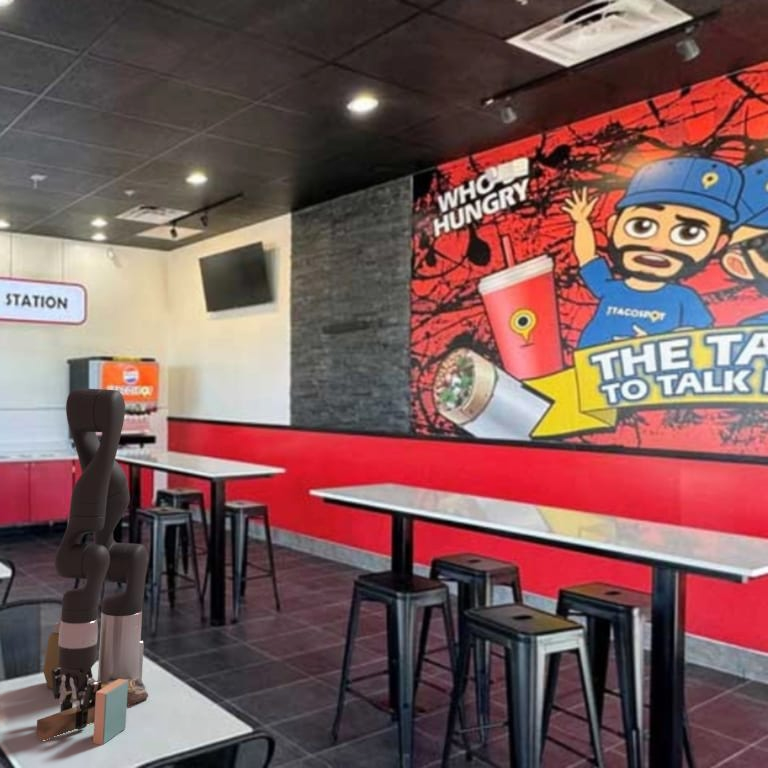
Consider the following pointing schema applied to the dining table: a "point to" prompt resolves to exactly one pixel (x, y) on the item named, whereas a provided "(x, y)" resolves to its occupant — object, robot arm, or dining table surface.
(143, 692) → the ceramic tile fragment
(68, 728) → the wooden bar with blade
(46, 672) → the squeeze bottle
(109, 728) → the tile
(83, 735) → the dining table surface
